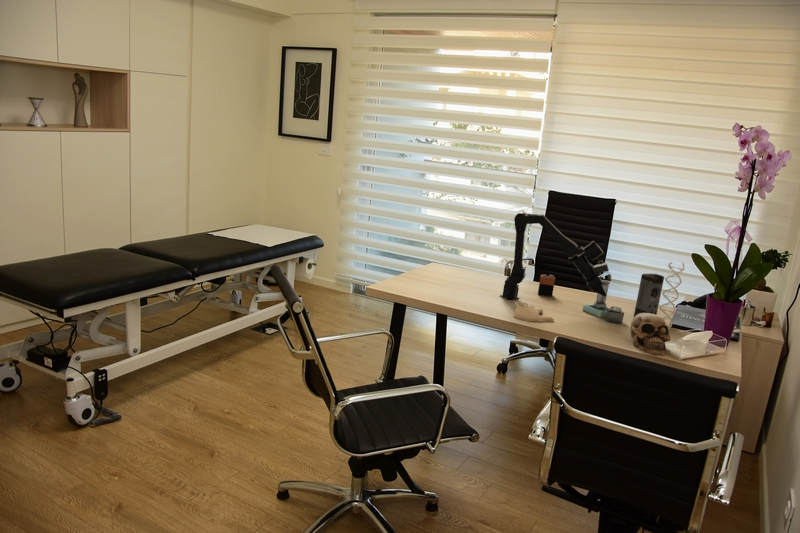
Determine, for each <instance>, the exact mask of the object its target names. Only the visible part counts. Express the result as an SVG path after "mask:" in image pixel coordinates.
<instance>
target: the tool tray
mask: <svg viewBox="0 0 800 533" xmlns="http://www.w3.org/2000/svg"><path fill="white" fill-rule="evenodd" d="M582 305H583V304H582ZM593 307H594V303H591V304H584V305H583V306H582V312H585V313H587V314H589V315H593V316H595V317H597V316H598V318H600V317H602V318H606V313H607V309H611V307H608V306H606V310H598V309H595V308H593Z"/></svg>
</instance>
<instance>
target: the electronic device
mask: <svg viewBox="0 0 800 533" xmlns="http://www.w3.org/2000/svg"><path fill="white" fill-rule="evenodd" d="M664 282H665V276H663V275H661V274H658V273H642V274H641V277H640V282H639V288H638V293H637V298H636V303H635V308H634V312H633V318H634V317H635V316H636V315H638V314H640V313H651V314H655V315H658V309H659V305H660V299H661V295H662V290H663V285H664Z"/></svg>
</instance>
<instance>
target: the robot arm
mask: <svg viewBox="0 0 800 533" xmlns="http://www.w3.org/2000/svg"><path fill="white" fill-rule="evenodd" d="M513 221H514V228H515V229H514V230H515V245H514V246H515V247H514V254H513V255H514V258H513V265H512V268H511V271H510V272H511V273H510V275H509V276H507V277H506V279H505V280H504V284H503V290H502V294H500V295H499V296H500V297H501V298H504V299H506V300H509V301H510V300H519V299H520V297H518V296H519V290H520V288H519V286H520V285H518V284H521V283H522V282H523V280H524V279H525V277H526V270H527V266H524V264H523V261H524V248H525V236H526V234H525V233H526V230H527V226H528V225H532V224H534V225H535V224H539V225H540V226H541V227H542V228H543V229H544V230H545V231H546V232H547V233H548V234H549V235H550V237H552V238H553V240H555V241H556V242H557V244H558V245H559V247H560V248H561V250H562V252H563V253H564V254H565V255H566V256H568V257H567V258H568V262H567V265H571V264H572V263H573V265H574V267H576V268H577V270H578V272H579V274H580V275H582V276H583V279H585V282H586V287H587V288H588V290H592V291H594V292H596V294H597V293H599V294H601V295H603V296H604V297H605V296H606V293H605V291H604V289H603V287H602V285H601V284H602V280H603V279H602V274H601V273H607V272H609V267H608V263H607V262H604V260H600V261H599V260H598V263H597V264H595V265H593V263H591V262H590V261H589V260H591V261H594V260H595V259H598V257H601V256H602V255H603V254H604V251H603V249H602V248H601V246H599V245H598V244H597V242H595V240H592V241H591V242H590V243H589V244H588V245H586V246H585V247H584V246H582V245H581V246H580V245H579V244H577V243H576V242H575V241H573V240H572V239H570V238H569V237H567V236H566V235H564V234H563V233H562V232H561V231H560V230H559V229H558V228H557V227H556V226H555V225H554V224H553V223H552V222H551V221H550V220H549V219H548V218H547V217H546V215H545V214H543V213H540V214H537V213H536V214H535V213H527V212H525V211H520V212H518V213H516V215H515V216H514V220H513Z"/></svg>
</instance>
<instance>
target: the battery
mask: <svg viewBox="0 0 800 533" xmlns="http://www.w3.org/2000/svg"><path fill="white" fill-rule="evenodd" d="M555 281H556V277H555V276H554V275H553V274H549V275H547V274H543V273H542V274H540V278H539V282H538V283H539V284H538V290H537V295H538V296H544V297H548V298H549V297H550V298H552V297H553V294H554V288H555Z"/></svg>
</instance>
